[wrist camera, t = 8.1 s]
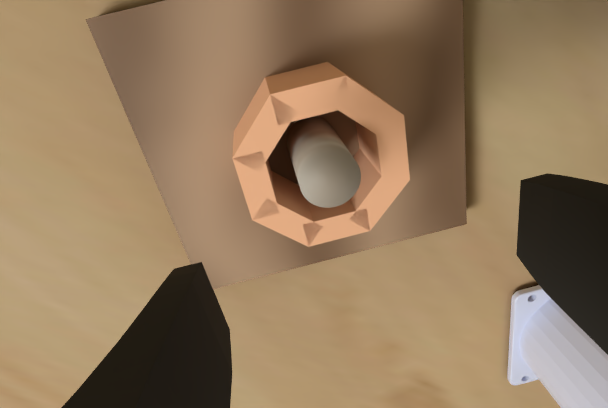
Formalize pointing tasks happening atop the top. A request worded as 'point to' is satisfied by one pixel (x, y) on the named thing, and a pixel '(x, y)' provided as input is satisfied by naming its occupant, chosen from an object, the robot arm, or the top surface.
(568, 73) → the top surface
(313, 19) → the peg plate
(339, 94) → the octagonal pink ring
